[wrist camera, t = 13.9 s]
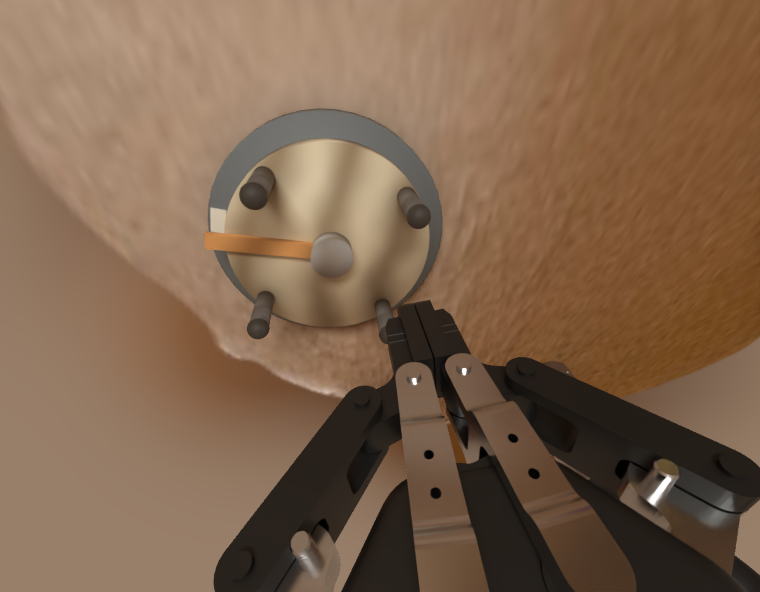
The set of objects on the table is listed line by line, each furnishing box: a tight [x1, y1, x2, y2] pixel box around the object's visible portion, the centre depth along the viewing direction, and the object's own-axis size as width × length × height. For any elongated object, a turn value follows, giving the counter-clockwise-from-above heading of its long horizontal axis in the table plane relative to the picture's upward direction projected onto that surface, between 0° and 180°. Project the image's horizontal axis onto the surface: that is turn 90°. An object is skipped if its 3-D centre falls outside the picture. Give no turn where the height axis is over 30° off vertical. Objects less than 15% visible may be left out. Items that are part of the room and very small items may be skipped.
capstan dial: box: [204, 138, 431, 344], centre depth 32 cm, size 22×20×8 cm
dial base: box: [208, 109, 442, 328], centre depth 36 cm, size 24×24×2 cm
